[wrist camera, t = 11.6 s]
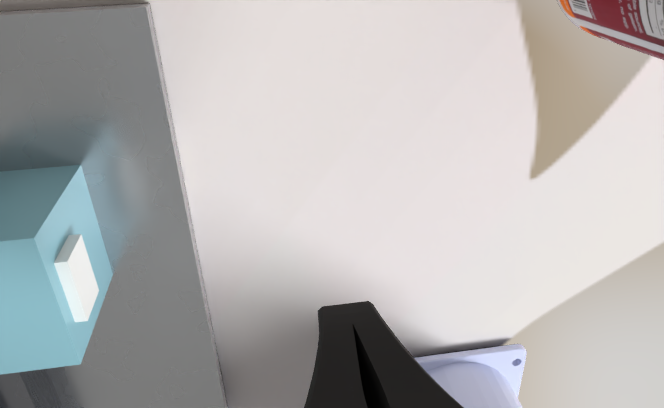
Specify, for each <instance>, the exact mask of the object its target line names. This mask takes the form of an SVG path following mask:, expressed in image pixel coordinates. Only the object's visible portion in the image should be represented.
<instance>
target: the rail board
mask: <svg viewBox="0 0 664 408" xmlns="http://www.w3.org/2000/svg"><path fill="white" fill-rule="evenodd" d="M71 165H81V167H82V170H83V174H84V177H85V180H86V184H87V187H88V191H89V194H90V197H91V201H92V204H93V208H94V211H95V214H96V218H97V221H98V225H99V228H100V232H101V235H102V238H103V242H104V245H105V249H106V252H107V255H108V259H109V262H110V266H111V269H112V272H113V276H112V279H111V281H110V284H109V287H108V290H107V293H106V295H105V298H104V301H103V304H102V306H101V309H100V312H99V315H98V318H97V320H96V323H95V326H94V329H93V331H92V334H91V337H90V340H89V343H88V345H87V348H86V351H85V354H84V356H83V359H82V362H81V364H80V365H72V366H64V367H56V368H48V369H41V370H33V371H25V372H17V373H9V374H1V375H0V408H228V407H227V402H226V397H225V391H224V386H223V381H222V376H221V371H220V365H219V360H218V355H217V350H216V345H215V339H214V334H213V329H212V324H211V319H210V313H209V308H208V303H207V298H206V293H205V287H204V282H203V277H202V272H201V267H200V261H199V256H198V251H197V246H196V241H195V236H194V230H193V225H192V220H191V215H190V210H189V204H188V199H187V194H186V189H185V184H184V178H183V173H182V168H181V163H180V158H179V152H178V147H177V142H176V137H175V132H174V126H173V121H172V116H171V111H170V106H169V100H168V95H167V90H166V85H165V80H164V74H163V69H162V64H161V59H160V54H159V48H158V43H157V38H156V33H155V28H154V22H153V17H152V12H151V7H150V3H145V4H127V5H110V6H92V7H74V8H57V9H39V10H22V11H4V12H0V172H2V171H13V170H25V169H37V168H48V167H60V166H71Z"/></svg>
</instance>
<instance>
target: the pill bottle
mask: <svg viewBox="0 0 664 408" xmlns="http://www.w3.org/2000/svg"><path fill="white" fill-rule="evenodd" d="M557 2H558V4H559V6H560V8H561V9H562V11H563V12H564V14H565V15H566V16H567V17H568V18H569V20H570V21H571V22H572V23H573V24H575V25H576V26H577V27H579V28H580V29H582V30H584V31H586V32H588V33H590V34H592V35H594V36H597V37H600V38H603V39H605V40H608V41H611V42H614V43H617V44H620V45H622V46H625V47H628V48H631V49H634V50H637V51H640V52H642V53H646V54H648V55H651V56H654V57H657V58H660V59H663V60H664V0H557Z"/></svg>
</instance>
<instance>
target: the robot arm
mask: <svg viewBox="0 0 664 408" xmlns="http://www.w3.org/2000/svg"><path fill="white" fill-rule="evenodd" d="M318 320H319V342H318V350H317V356H316V362H315V368H314V372H313V377H312V381H311V385H310V389H309V393H308V397H307V400H306V404H305V407H304V408H523V407H522V405H521V403H520V402H519V400H518V394H519V389H520V384H521V379H522V374H523V369H524V364H525V359H526V354H527V352H526V350H525V348H524V347H523V346H522V345H521V344H513V345H505V346H498V347H491V348H483V349H476V350H468V351H461V352H453V353H446V354H439V355H431V356H424V357H416V358H413V356H412V355H411V354H410V353H409V352H408V351H407V349H406V348H405V347H404V346H403V345H402V344H401V342H400V341H399V340H398V339H397V337H396V336H395V335H394V333H393V332H392V331H391V329H390V328H389V327H388V326H387V324H386V323H385V321H384V320H383V319H382V317H381V316H380V314H379V313H378V311H377V310H376V308H375V307H374V305H373V304H372V303H371V302H369V301H366V302H357V303H349V304H341V305H333V306H324V307H321V308H320V309H319V310H318Z"/></svg>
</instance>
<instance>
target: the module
mask: <svg viewBox="0 0 664 408" xmlns="http://www.w3.org/2000/svg"><path fill="white" fill-rule="evenodd" d="M112 276H113V272H112V269H111V266H110V262H109V259H108V255H107V252H106V249H105V245H104V242H103V238H102V235H101V232H100V228H99V225H98V221H97V218H96V214H95V211H94V208H93V204H92V201H91V197H90V194H89V191H88V187H87V184H86V180H85V177H84V174H83V170H82V167H81V165H71V166H60V167H48V168H37V169H25V170H13V171H2V172H0V375H1V374H9V373H17V372H25V371H33V370H41V369H48V368H56V367H64V366H72V365H80V364H81V362H82V359H83V356H84V354H85V351H86V348H87V345H88V343H89V340H90V337H91V334H92V331H93V329H94V326H95V323H96V320H97V318H98V315H99V312H100V309H101V306H102V304H103V301H104V298H105V295H106V293H107V290H108V287H109V284H110V281H111V279H112Z"/></svg>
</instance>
